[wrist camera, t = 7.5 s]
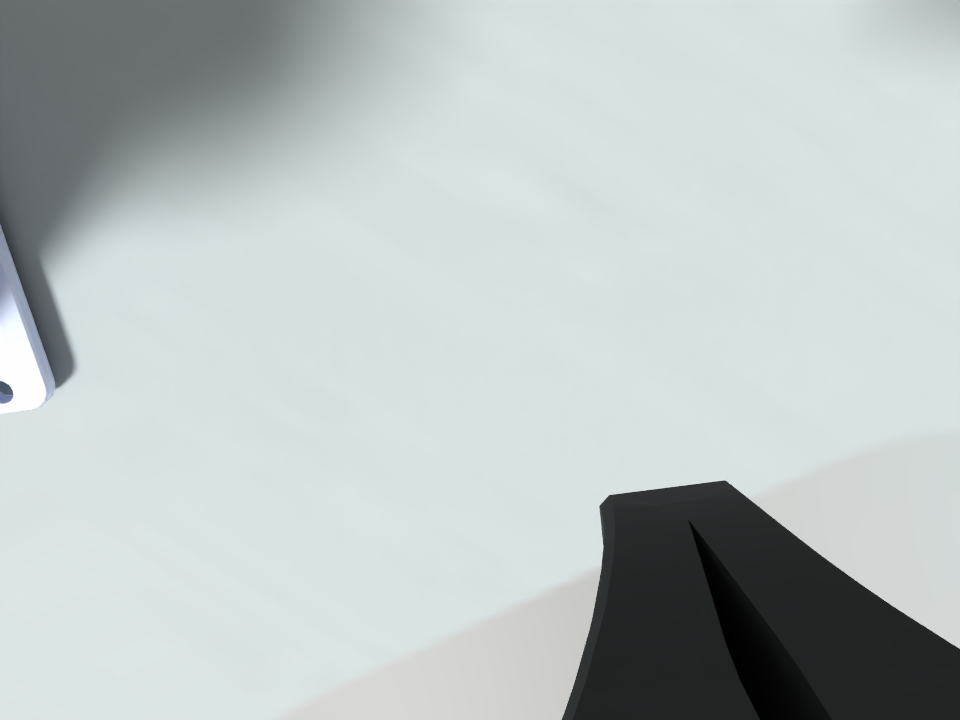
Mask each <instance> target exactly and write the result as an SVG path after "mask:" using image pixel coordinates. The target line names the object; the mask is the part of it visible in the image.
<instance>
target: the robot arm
mask: <svg viewBox="0 0 960 720" xmlns="http://www.w3.org/2000/svg"><path fill="white" fill-rule="evenodd" d="M0 381H3V382H5V383H7V384H8V385H9V386H10V387H11V388H12V390H13V396H10V395H5V394H4V393H2V392H1V391H0V414H4V413H12V412H19V411H27V410H33V409H36V408H39V407H41V406H42V405H43V404H44V403H46V402H47V401H48V400H49V399H50V398H51V397H52V395H53V393H54V390H55V381H54V377H53V374H52V371H51V368H50V365H49V363H48V360H47V357H46V354H45V351H44V348H43V345H42V342H41V340H40V337H39V334H38V331H37V328H36V325H35V322H34V319H33V317H32V314H31V311H30V308H29V305H28V302H27V299H26V296H25V294H24V291H23V288H22V285H21V282H20V279H19V276H18V274H17V271H16V268H15V265H14V262H13V259H12V256H11V253H10V251H9V248H8V245H7V242H6V239H5V236H4V233H3V230H2V228H1V225H0ZM600 516H601V526H602V536H603V545H604V548H603V558H602V569H601V575H600V581H599V586H598V591H597V597H596V602H595V608H594V613H593V618H592V622H591V627H590V631H589V634H588V638H587V641H586V645H585V648H584V652H583V655H582V659H581V662H580V666H579V669H578V673H577V676H576V680H575V683H574V686H573V689H572V692H571V695H570V698H569V701H568V704H567V707H566V710H565V713H564V716H563V718H562V720H960V649H959V648H957V647H956V646H954V645H952V644H951V643H949V642H948V641H946V640H944V639H943V638H941V637H940V636H938V635H937V634H935V633H933V632H932V631H930V630H929V629H927V628H926V627H924V626H923V625H921V624H919V623H918V622H916V621H915V620H913V619H912V618H910V617H908V616H907V615H905V614H904V613H902V612H901V611H899V610H898V609H896V608H894V607H893V606H891V605H890V604H889V603H887V602H886V601H884V600H883V599H881V598H880V597H878V596H877V595H875V594H874V593H872V592H871V591H869V590H868V589H867V588H865V587H864V586H862V585H861V584H859V583H858V582H857V581H855V580H854V579H852V578H851V577H850V576H848V575H847V574H845V573H844V572H843V571H841V570H840V569H839V568H837V567H836V566H834V565H833V564H832V563H830V562H829V561H827V560H826V559H825V558H824V557H822V556H821V555H819V554H818V553H817V552H816V551H814V550H813V549H812V548H810V547H809V546H808V545H806V544H805V543H804V542H803V541H801V540H800V539H799V538H797V537H796V536H795V535H794V534H792V533H791V532H790V531H789V530H787V529H786V528H785V527H783V526H782V525H781V524H780V523H778V522H777V521H776V520H775V519H773V518H772V517H771V516H770V515H768V514H767V513H766V512H765V511H763V510H762V509H761V508H760V507H758V506H757V505H756V504H755V503H753V502H752V501H751V500H749V499H748V498H747V497H746V496H744V495H743V494H742V493H741V492H739V491H738V490H737V489H736V488H734V487H733V486H732V485H730V484H729V483H728V482H727V481H717V482H709V483H702V484H694V485H686V486H678V487H670V488H662V489H654V490H647V491H639V492H631V493H623V494H615V495H609V496H608V497H607V498H606V500H605V501H604V502H603V503H602V504H601V505H600Z"/></svg>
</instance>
